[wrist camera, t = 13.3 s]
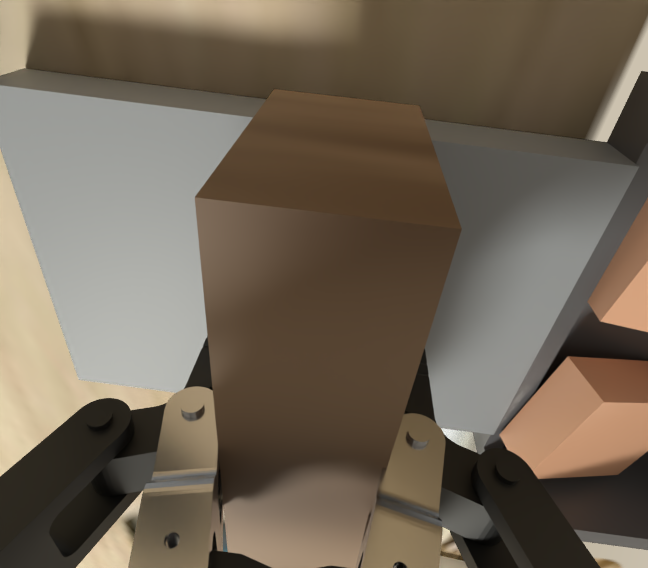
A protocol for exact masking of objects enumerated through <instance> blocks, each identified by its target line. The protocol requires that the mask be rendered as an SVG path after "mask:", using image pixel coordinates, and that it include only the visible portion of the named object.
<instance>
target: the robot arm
mask: <svg viewBox="0 0 648 568" xmlns="http://www.w3.org/2000/svg"><path fill="white" fill-rule="evenodd" d="M428 375H429V373H428V366H427V359H426V352H425V348H424V351H423V355H422V358H421V361H420V364H419V367H418V371H417V374H416V377H415V380H414V383H413V387H412V390H411V393H410V396H409V399H408V403H407V406H406V409H405V412H404V415H403V418H402V422H401V425H400V428H399V431H398V434H397V438H396V441H395V444H394V447H393V450H392V454H391V457H390V460H389V463H388V466H387V468H382V471H381V475H380V478H379V482H378V486H377V491H376V495H375V500H374V504H373V508H372V512H371V514H368V517H367V521H366V524H365V529H364V533H363V537H362V542H361V546H360V550H359V554H358V558H357V562H356V566H355V568H439V564H440V553H441V542H442V527H444V528H446V529H448V530H450V533H451V535H452V537H453V539H454V541H455V543H456V545H457V547H458V549H459V551H460V553H461V555H462V557H463V560H464V562H465V564H466V566H467V568H600V567H599V565H598V564H597V562H596V561H595V559H594V558H593V557H592V555H591V554H590V552H589V551H588V549H587V548H586V547H585V545H584V544H583V542H582V541H581V539H580V538H579V537H578V535H577V534H576V532H575V531H574V529H573V528H572V527H571V525H570V524H569V522H568V521H567V519H566V518H565V516H564V515H563V514H562V512H561V511H560V509H559V508H558V506H557V505H556V504H555V502H554V501H553V499H552V498H551V496H550V495H549V494H548V492H547V491H546V489H545V488H544V486H543V485H542V484H541V482H540V481H539V479H538V478H537V476H536V475H535V474H534V472H533V471H532V469H531V468H530V467H529V465H528V464H527V463H526V462H525V461H524V460H523V459H522V458H521V457H519V456H518V455H516V454H515V453H513V452H511V451H509V450H505V449H501V448H491V449H488V450H485V451H484V452H483V453H482V454H481V455H480V454H478V453H476V452H473V451H471V450H469V449H466V448H464V447H462V446H459V445H457V444H456V443H454V442H452V441H451V440H450V439H448V438H447V437H446V436H445V435H444V434H443V431H442V430H441V428H440V427H439V426H438V425H437V423H436V420H435V415H434V408H433V401H432V394H431V387H430V380H429V377H428ZM142 491H143V494H142V499H141V504H140V509H139V515H138V520H137V525H136V530H135V535H134V540H133V546H132V551H131V556H130V561H129V566H128V568H272V567H269V566H267V565H265V564H263V563H260V562H258V561H256V560H254V559H252V558H249V557H247V556H245V555H243V554H238V553H231V552H223V538H222V535H223V508H224V504H223V494H222V483H221V473H220V462H219V450H218V441H217V430H216V420H215V409H214V399H213V388H212V377H211V367H210V356H209V345H208V335H207V338H206V340H205V342H204V344H203V348H202V349H201V351H200V353H199V356H198V358H197V360H196V363H195V365H194V367H193V370H192V372H191V374H190V377H189V379H188V381H187V384H186V386H185V388H184V389H182V390H180V391H179V392H177V393H175V394H174V395H173V396H172V397H171V398H170V399H169V400H168V402H167V403H165V404H163V405H160V406H156V407H150V408H144V409H137V410H131V411H130V408H129V407H128V405H127V404H126V403H124V402H123V401H121V400H119V399H114V398H105V399H99V400H96V401H93V402H91V403H89V404H87V405H85V406H84V407H82V408H81V409H80V410H79V411H77V412H76V413H75V414H74V415H73V416H71V417H70V418H69V419H68V420H67V421H66V422H64V423H63V424H62V425H61V426H60V427H58V428H57V429H56V430H55V431H54V432H53V433H51V434H50V435H49V436H48V437H47V438H45V439H44V440H43V441H42V442H41V443H40V444H38V445H37V446H36V447H35V448H34V449H32V450H31V451H30V452H29V453H28V454H27V455H25V456H24V457H23V458H22V459H21V460H19V461H18V462H17V463H16V464H15V465H14V466H12V467H11V468H10V469H9V470H8V471H6V472H5V473H4V474H3V475H2V476H1V477H0V568H76V567H77V565H78V564H79V563H80V562H81V561H82V560H83V559H84V557H85V556H86V555H87V554H88V553H89V552H90V551H91V549H92V548H93V547H94V546H95V545H96V544H97V542H98V541H99V540H100V539H101V538H102V537H103V536H104V534H105V533H106V532H107V531H108V530H109V529H110V528H111V526H112V525H113V524H114V523H115V522H116V521H117V519H118V518H119V517H120V516H121V515H122V514H123V513H124V511H125V510H126V509H127V508H128V507H129V506H130V504H131V503H132V502H133V501H134V500H135V499H136V498H137V496H138V495H139V494H140V493H141V492H142ZM319 568H346V567H338V566H325V567H319Z"/></svg>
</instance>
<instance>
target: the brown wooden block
mask: <svg viewBox="0 0 648 568" xmlns="http://www.w3.org/2000/svg"><path fill="white" fill-rule="evenodd" d="M195 207H196V218H197V229H198V239H199V250H200V260H201V271H202V282H203V292H204V303H205V314H206V324H207V335H208V345H209V356H210V367H211V377H212V388H213V399H214V409H215V420H216V430H217V441H218V450H219V462H220V473H221V483H222V494H223V504H224V515H225V526H226V537H227V547H228V552H231V553H238V554H243V555H245V556H247V557H249V558H252V559H254V560H256V561H258V562H260V563H263V564H265V565H267V566H269V567H272V568H319V567H325V566H338V567H346V568H355V566H356V562H357V558H358V554H359V550H360V546H361V542H362V537H363V533H364V529H365V524H366V521H367V517H368V514H371V512H372V508H373V504H374V500H375V495H376V491H377V486H378V482H379V478H380V475H381V471H382V468H387V466H388V463H389V460H390V457H391V454H392V450H393V447H394V444H395V441H396V438H397V434H398V431H399V428H400V425H401V422H402V418H403V415H404V412H405V409H406V406H407V403H408V399H409V396H410V393H411V390H412V387H413V383H414V380H415V377H416V374H417V371H418V367H419V364H420V361H421V358H422V355H423V351H424V348H425V345H426V342H427V339H428V336H429V332H430V329H431V326H432V323H433V320H434V316H435V313H436V310H437V307H438V304H439V300H440V297H441V294H442V291H443V288H444V284H445V281H446V278H447V275H448V272H449V269H450V265H451V262H452V259H453V256H454V253H455V249H456V246H457V243H458V240H459V237H460V233H461V230H462V228H461V225H460V222H459V219H458V216H457V213H456V210H455V207H454V205H453V202H452V199H451V196H450V193H449V190H448V187H447V184H446V181H445V178H444V175H443V172H442V169H441V167H440V164H439V161H438V158H437V155H436V152H435V149H434V146H433V143H432V140H431V137H430V134H429V131H428V129H427V126H426V123H425V120H424V117H423V114H422V111H421V108H420V106H418V105H409V104H401V103H392V102H383V101H375V100H366V99H357V98H348V97H340V96H331V95H322V94H313V93H305V92H296V91H287V90H279V89H274V90H273V91H272V93H271V94H270V95H269V97H268V98H267V99H266V101H265V102H264V103H263V105H262V106H261V108H260V109H259V110H258V112H257V113H256V114H255V116H254V117H253V118H252V120H251V121H250V123H249V124H248V125H247V127H246V128H245V129H244V131H243V132H242V133H241V135H240V136H239V138H238V139H237V140H236V142H235V143H234V144H233V146H232V147H231V148H230V150H229V151H228V153H227V154H226V155H225V157H224V158H223V159H222V161H221V162H220V163H219V165H218V166H217V167H216V169H215V170H214V172H213V173H212V174H211V176H210V177H209V178H208V180H207V181H206V182H205V184H204V185H203V187H202V188H201V189H200V191H199V192H198V193H197V195H196V196H195Z"/></svg>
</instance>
